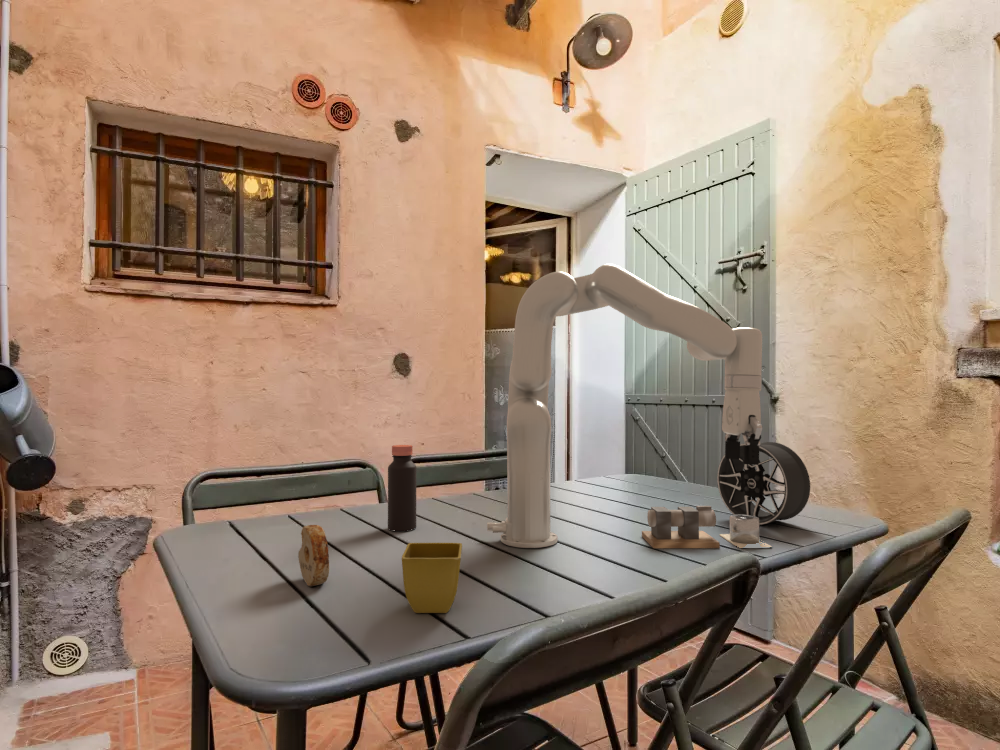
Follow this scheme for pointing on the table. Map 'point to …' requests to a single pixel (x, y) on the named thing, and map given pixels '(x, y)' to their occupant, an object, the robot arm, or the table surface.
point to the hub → (744, 529)
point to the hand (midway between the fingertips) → (741, 461)
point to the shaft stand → (680, 527)
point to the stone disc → (314, 555)
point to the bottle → (402, 489)
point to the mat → (740, 545)
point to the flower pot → (431, 575)
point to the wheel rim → (764, 484)
